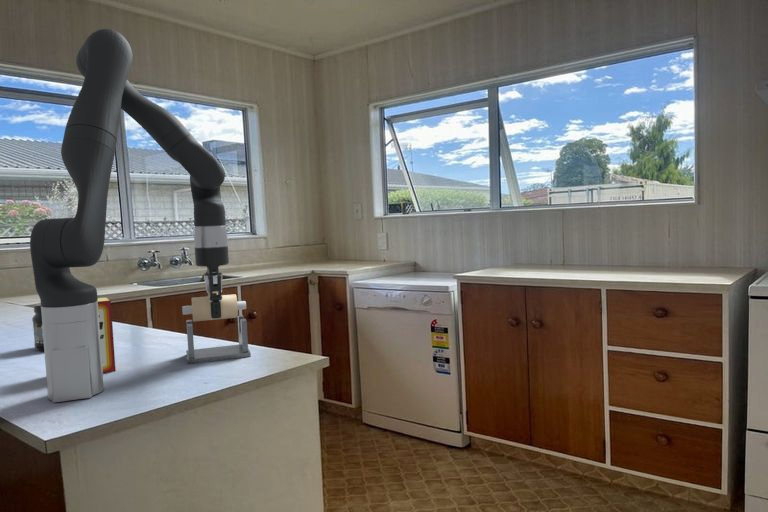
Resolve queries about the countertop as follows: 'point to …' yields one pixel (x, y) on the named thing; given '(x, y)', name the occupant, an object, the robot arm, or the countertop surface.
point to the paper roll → (203, 308)
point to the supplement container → (38, 328)
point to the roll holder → (218, 352)
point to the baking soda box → (106, 334)
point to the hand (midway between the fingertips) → (215, 315)
